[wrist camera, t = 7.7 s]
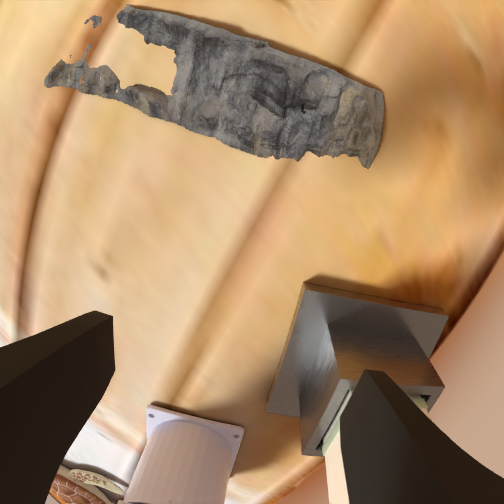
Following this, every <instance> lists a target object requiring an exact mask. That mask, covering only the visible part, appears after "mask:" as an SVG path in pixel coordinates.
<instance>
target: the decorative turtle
mask: <svg viewBox="0 0 504 504" xmlns="http://www.w3.org/2000/svg"><path fill="white" fill-rule="evenodd" d="M95 485H97V486H100V487H102V488H105V489H107V490H109V491H112V492H114V493H117V494H123V493H124V492H123V490H122V489H121V488H120V487H118V486H117V485H116V484H115V483H113V482H112V481H111V480H109V479H108V478H106V477H104V476H102V475H100V474H97V473H94V472H90V471H85V470H79V469H72V470H70V469H68V468H66V467H64V466H62V465H60V467H59V469H58V472H57V474H56V476H55V478H54V481H53V483H52V486H51V489H52V491H53V492H54V493H55V494H57V495H58V496H59V498H61V499H62V500H63V501H64V502H66V503H67V504H114V503H112V502H110V501H109V500H108V498H107V497H106V495H105V494H104V493H103V492H101V491H100V490H99V489H98V488H97V487H96V486H95Z"/></svg>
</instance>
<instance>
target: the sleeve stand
mask: <svg viewBox="0 0 504 504" xmlns="http://www.w3.org/2000/svg"><path fill="white" fill-rule="evenodd" d="M448 318H449V315H448V314H447V313H446V312H445V311H444V310H443V309H439V308H433V307H428V306H423V305H417V304H412V303H406V302H401V301H396V300H391V299H385V298H380V297H375V296H370V295H365V294H359V293H354V292H349V291H344V290H339V289H334V288H329V287H324V286H319V285H314V284H309V283H304V282H303V285H302V289H301V293H300V296H299V300H298V303H297V307H296V310H295V313H294V317H293V320H292V324H291V327H290V330H289V334H288V337H287V340H286V343H285V347H284V350H283V353H282V356H281V359H280V363H279V366H278V369H277V372H276V375H275V378H274V381H273V384H272V387H271V390H270V393H269V396H268V399H267V402H266V412H267V413H273V414H279V415H286V416H294V417H300V428H301V451H302V455H308V456H321V457H325V456H323V451H322V446H323V444H324V442H323V435H324V434H325V432H326V430H327V428H328V427H329V425H330V423H331V421H332V419H333V417H334V415H335V414H336V412H337V410H338V408H339V406H340V404H341V402H342V400H343V398H344V396H345V394H346V392H347V390H354V389H355V387H356V385H357V383H358V381H359V379H360V377H361V375H362V373H363V371H364V369H368V370H377V371H383V372H385V373H386V374H387V375H388V376H389V377H390V378H391V379H392V380H393V381H394V382H395V383H396V384H397V385H398V386H399V387H400V388H401V389H402V390H403V391H404V392H405V393H406V394H415V395H420V396H421V398H422V399H424V400H425V402H426V404H427V406H428V408H427V411H428V412H429V411H430V410H431V408H432V407H433V405H434V404H435V402H436V401H437V399H438V397H439V396H440V394H441V393H442V391H443V389H444V388H445V386H444V384H443V382H442V381H441V379H440V377H439V376H438V374H437V372H436V371H435V369H434V367H433V365H432V364H431V363H430V360H429V357H430V355H431V353H432V351H433V349H434V347H435V345H436V343H437V341H438V339H439V337H440V335H441V333H442V331H443V329H444V327H445V324H446V322H447V320H448Z"/></svg>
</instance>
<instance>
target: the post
mask: <svg viewBox="0 0 504 504" xmlns="http://www.w3.org/2000/svg"><path fill="white" fill-rule="evenodd" d="M353 391H354V390H347V392H346V394H345V396H344V398H343V400H342V402H341V404H340V406H339V408H338V410H337V412H336V414H335V415H334V417H333V419H332V421H331V423H330V425H329V427H328V428H327V430H326V432H325V434H324V435H323V442H324V444H323V446H322V451H323V456H325V461H326V471H327V481H328V492H329V503H330V504H349V498H348V492H347V485H346V479H345V473H344V466H343V460H342V454H341V447H340V416H341V414H342V412H343V410H344V409H345V407H346V405H347V403H348V401H349V399H350V397H351V395H352V393H353ZM406 395H407V396H408V397H409V398H410V399H411V400H412V401H413V402H414V403H415V404H416V405H417V406H418V407H419V408H420V409H421V410H422V411H423V413H424V414H425V415H426V416H427V417H428V418H429V419H430V420H431V418H430V416H429V413H428V411H427V408H428V406H427V404H426V402H425V400H424V399H422V398H421V396H420V395H415V394H406ZM431 421H432V420H431Z"/></svg>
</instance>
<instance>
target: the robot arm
mask: <svg viewBox="0 0 504 504" xmlns="http://www.w3.org/2000/svg"><path fill="white" fill-rule="evenodd" d="M114 372H115V358H114V337H113V316H111V315H108V314H104V313H101V312H98V311H92V312H89V313H86V314H84V315H81V316H79V317H76V318H74V319H71V320H69V321H67V322H64V323H62V324H60V325H57V326H55V327H52V328H50V329H48V330H45V331H43V332H41V333H38V334H36V335H33V336H30V337H28V338H25V339H22V340H20V341H17V342H14V343H11V344H9V345H6V346H3V347H0V504H45V501H46V499H47V496H48V493H49V491H50V488H51V486H52V483H53V481H54V478H55V476H56V474H57V472H58V469H59V467H60V465H61V463H62V461H63V459H64V457H65V455H66V453H67V451H68V450H69V448H70V446H71V445H72V443H73V442H74V440H75V439H76V437H77V435H78V434H79V432H80V431H81V429H82V428H83V426H84V425H85V423H86V422H87V420H88V419H89V417H90V416H91V414H92V412H93V411H94V409H95V408H96V406H97V405H98V403H99V402H100V400H101V399H102V397H103V395H104V393H105V391H106V389H107V387H108V385H109V383H110V381H111V378H112V376H113V374H114ZM146 427H147V444H146V446H145V449H144V451H143V453H142V456H141V458H140V461H139V463H138V466H137V468H136V470H135V473H134V475H133V478H132V480H131V483H130V485H129V488H128V490H127V493H126V495H125V498H124V500H123V501H122V500H118V503H117V504H224V502H225V496H226V489H227V483H228V481H229V478H230V475H231V472H232V469H233V466H234V463H235V460H236V456H237V453H238V450H239V447H240V444H241V441H242V438H243V434H244V429H243V428H242V427H240V426H235V425H230V424H225V423H221V422H216V421H211V420H207V419H203V418H198V417H194V416H190V415H186V414H182V413H179V412H175V411H171V410H168V409H164V408H161V407H157V406H154V405H148V406H147V408H146ZM340 447H341V454H342V460H343V466H344V473H345V479H346V485H347V492H348V498H349V504H504V478H502V477H500V476H499V475H497V474H495V473H494V472H492V471H491V470H489V469H488V468H486V467H485V466H483V465H482V464H481V463H479V462H478V461H477V460H475V459H474V458H473V457H471V456H470V455H469V454H467V453H466V452H465V451H464V450H462V449H461V448H460V447H459V446H458V445H456V444H455V443H454V442H453V441H452V440H451V439H450V438H449V437H448V436H447V435H446V434H445V433H444V432H442V431H441V430H440V429H439V428H438V427H437V426H436V425H435V424H434V423H433V422H432V421H431V420H430V419H429V418H428V417H427V416H426V415H425V414H424V413H423V411H422V410H421V409H420V408H419V407H418V406H417V405H416V404H415V403H414V402H413V401H412V400H411V399H410V398H409V397H408V396H407V395H406V393H405V392H404V391H403V390H402V389H401V388H400V387H399V386H398V385H397V384H396V383H395V382H394V381H393V380H392V379H391V378H390V377H389V376H388V375H387V374H386V373H385V372H383V371H377V370H368V369H364V371H363V373H362V375H361V377H360V379H359V381H358V383H357V385H356V387H355V389H354V391H353V393H352V395H351V397H350V399H349V401H348V403H347V405H346V407H345V409H344V410H343V412H342V414H341V416H340Z"/></svg>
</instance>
